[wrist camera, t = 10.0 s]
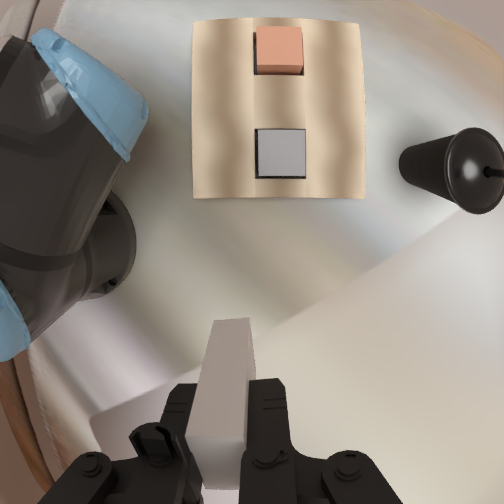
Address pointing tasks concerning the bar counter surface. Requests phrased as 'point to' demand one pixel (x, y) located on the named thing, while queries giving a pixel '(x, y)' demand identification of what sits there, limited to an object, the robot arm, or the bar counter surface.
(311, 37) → the panel
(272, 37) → the salmon block
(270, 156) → the gray block
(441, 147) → the drinking cup
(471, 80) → the bar counter surface
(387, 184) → the bar counter surface
